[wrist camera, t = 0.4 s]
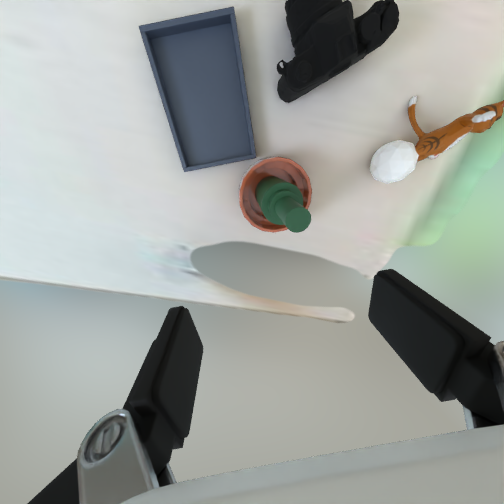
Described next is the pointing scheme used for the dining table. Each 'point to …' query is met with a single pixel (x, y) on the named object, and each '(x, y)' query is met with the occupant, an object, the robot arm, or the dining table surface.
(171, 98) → the tray
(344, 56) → the film camera
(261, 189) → the bottle
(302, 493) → the robot arm
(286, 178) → the bowl
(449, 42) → the dining table surface
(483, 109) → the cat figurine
